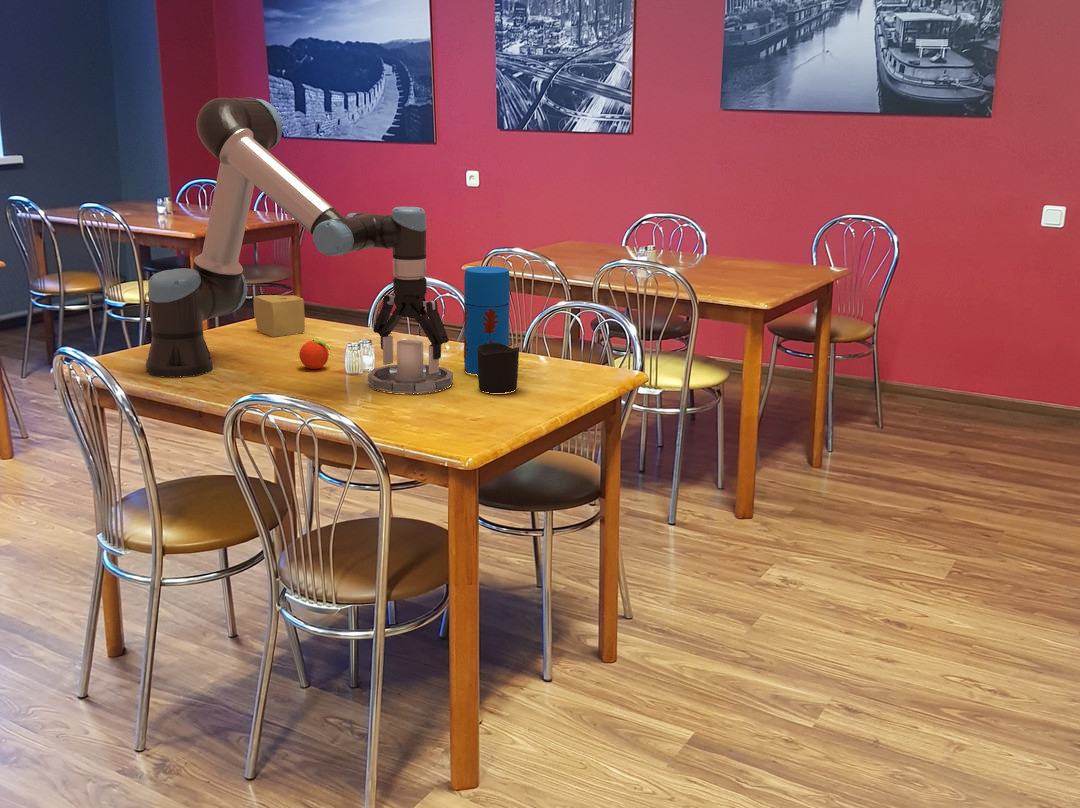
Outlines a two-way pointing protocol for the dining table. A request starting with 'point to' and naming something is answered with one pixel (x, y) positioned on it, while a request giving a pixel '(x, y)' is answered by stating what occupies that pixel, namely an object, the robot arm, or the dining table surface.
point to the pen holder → (497, 368)
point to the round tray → (386, 382)
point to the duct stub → (410, 362)
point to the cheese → (279, 314)
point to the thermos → (485, 310)
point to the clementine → (314, 354)
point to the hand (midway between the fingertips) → (410, 368)
